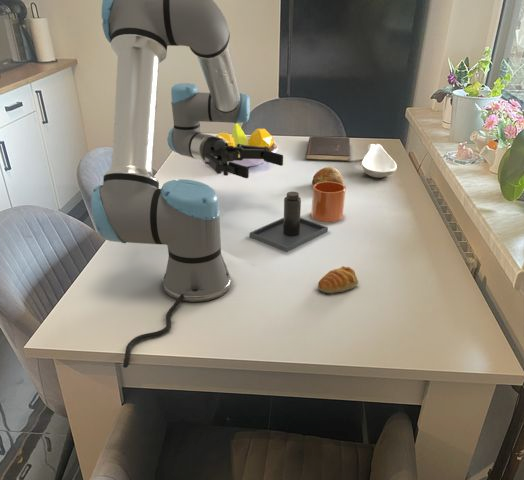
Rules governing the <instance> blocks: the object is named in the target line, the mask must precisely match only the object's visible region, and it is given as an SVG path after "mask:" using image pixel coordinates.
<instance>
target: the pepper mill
mask: <svg viewBox="0 0 524 480" xmlns="http://www.w3.org/2000/svg"><path fill="white" fill-rule="evenodd" d="M301 209H302V198H301V197H300V193H299V192H298V191H288V192H286V196H285V197H284V199H283V218H284V224H283V233H284V235H286V236H297V235H299V232H300V218H301Z"/></svg>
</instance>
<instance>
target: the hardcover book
mask: <svg viewBox="0 0 524 480" xmlns="http://www.w3.org/2000/svg"><path fill="white" fill-rule="evenodd" d="M350 157H351V139H350V137H340V136H316V135H310V136H309V139H308V142H307V148H306V153H305V160H306V161H321V162H343V163H349V162H350Z"/></svg>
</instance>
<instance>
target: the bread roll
mask: <svg viewBox="0 0 524 480" xmlns="http://www.w3.org/2000/svg"><path fill="white" fill-rule="evenodd" d="M319 182H337V183H340V184H342V185H344V176H343V175H342V173H341V172H340V171H339V170H338V169H337V168H335V167H332V166H326V167H323V168H321V169H319V170H318V171H317V172H315V174H314V175H313V177H312V181H311V185H312V186H313V185H315V184H316V183H319Z"/></svg>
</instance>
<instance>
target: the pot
mask: <svg viewBox="0 0 524 480" xmlns="http://www.w3.org/2000/svg"><path fill="white" fill-rule="evenodd" d="M345 197H346V186H345V185H344V184H343V185H342V184H340V183H337V182H319V183H316V184H315V185H312V198H311V218H312V219H313V220H315V221H317V222H320V223H321V222H322V223H337V222H340V221H341V220H342V219H343V218H344V208H345V207H344V206H345V199H346V198H345Z"/></svg>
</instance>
